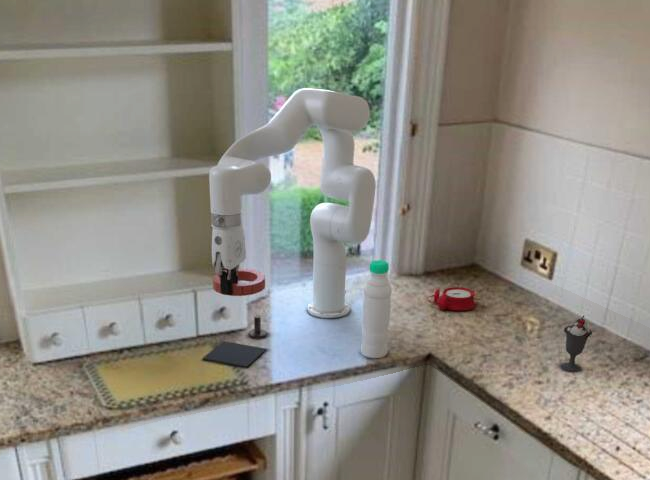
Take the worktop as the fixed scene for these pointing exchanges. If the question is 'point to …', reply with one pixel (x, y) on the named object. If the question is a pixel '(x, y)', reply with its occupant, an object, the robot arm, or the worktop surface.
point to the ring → (245, 288)
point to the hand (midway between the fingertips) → (229, 291)
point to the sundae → (575, 343)
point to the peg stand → (257, 329)
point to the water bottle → (376, 311)
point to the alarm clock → (454, 299)
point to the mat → (234, 354)
